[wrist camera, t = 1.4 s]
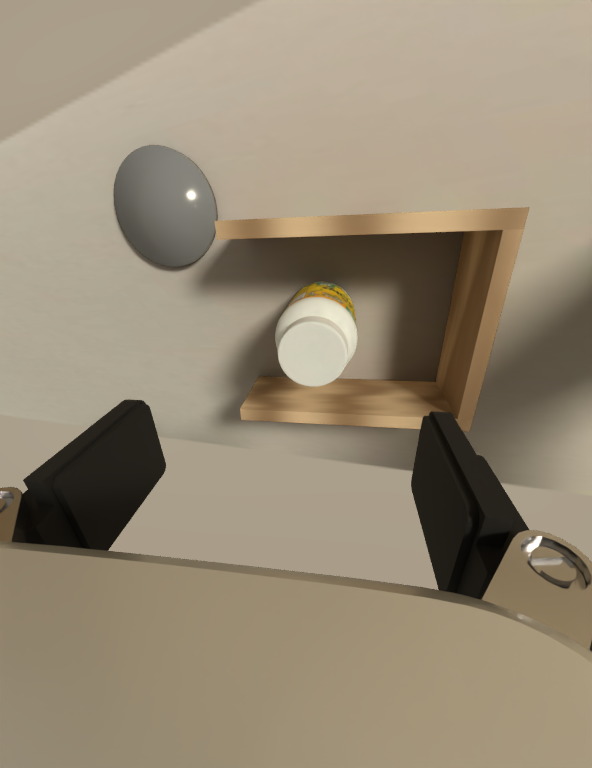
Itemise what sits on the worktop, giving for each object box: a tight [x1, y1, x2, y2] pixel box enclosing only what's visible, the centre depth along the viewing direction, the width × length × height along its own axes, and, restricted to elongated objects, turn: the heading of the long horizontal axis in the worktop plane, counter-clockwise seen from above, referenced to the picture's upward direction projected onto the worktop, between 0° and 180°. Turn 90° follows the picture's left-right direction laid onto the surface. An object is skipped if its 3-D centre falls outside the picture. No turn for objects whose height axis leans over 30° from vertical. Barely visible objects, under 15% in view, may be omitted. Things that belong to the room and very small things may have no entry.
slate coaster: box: [114, 145, 218, 267], centre depth 24 cm, size 8×8×1 cm
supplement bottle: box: [275, 282, 358, 387], centre depth 22 cm, size 5×5×10 cm
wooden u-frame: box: [215, 207, 530, 432], centre depth 23 cm, size 17×14×6 cm
